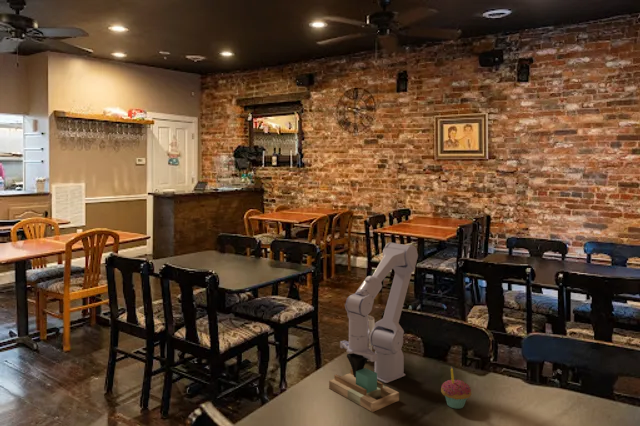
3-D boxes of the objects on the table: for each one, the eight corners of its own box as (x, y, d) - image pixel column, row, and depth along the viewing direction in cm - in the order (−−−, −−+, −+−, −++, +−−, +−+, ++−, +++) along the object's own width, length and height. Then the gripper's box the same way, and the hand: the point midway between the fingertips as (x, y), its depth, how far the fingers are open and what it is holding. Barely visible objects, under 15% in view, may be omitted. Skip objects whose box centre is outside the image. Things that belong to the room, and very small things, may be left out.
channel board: (355, 378, 165) (355, 366, 165) (398, 400, 151) (399, 387, 150) (329, 388, 159) (329, 376, 158) (372, 412, 144) (372, 398, 143)
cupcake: (454, 414, 143) (455, 373, 141) (434, 401, 150) (435, 362, 149) (477, 407, 147) (478, 367, 145) (456, 395, 154) (457, 357, 153)
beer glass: (373, 363, 178) (373, 321, 176) (353, 361, 179) (354, 320, 178) (375, 355, 185) (375, 315, 183) (356, 354, 186) (356, 314, 184)
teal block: (365, 383, 156) (365, 367, 156) (376, 389, 153) (377, 373, 152) (355, 387, 154) (355, 371, 153) (367, 393, 150) (367, 376, 150)
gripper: (332, 330, 158) (332, 372, 159) (365, 343, 146) (364, 388, 148) (349, 325, 162) (349, 366, 164) (382, 338, 151) (381, 382, 152)
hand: (357, 376), depth 156 cm, fingers closed
